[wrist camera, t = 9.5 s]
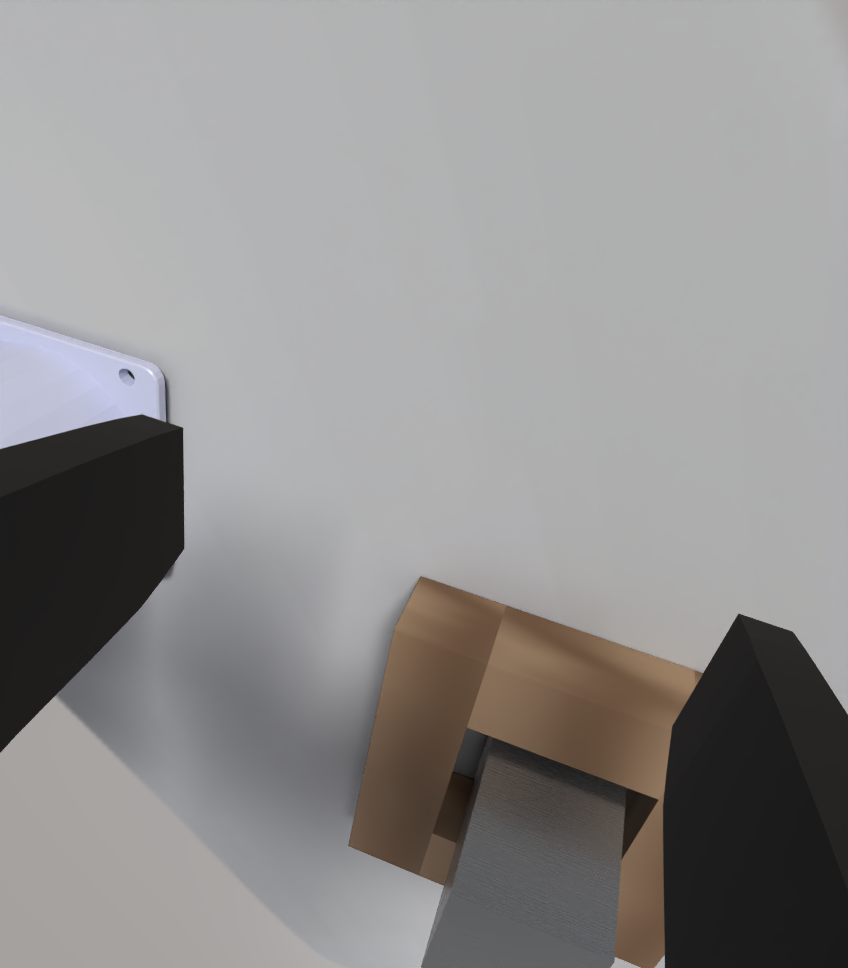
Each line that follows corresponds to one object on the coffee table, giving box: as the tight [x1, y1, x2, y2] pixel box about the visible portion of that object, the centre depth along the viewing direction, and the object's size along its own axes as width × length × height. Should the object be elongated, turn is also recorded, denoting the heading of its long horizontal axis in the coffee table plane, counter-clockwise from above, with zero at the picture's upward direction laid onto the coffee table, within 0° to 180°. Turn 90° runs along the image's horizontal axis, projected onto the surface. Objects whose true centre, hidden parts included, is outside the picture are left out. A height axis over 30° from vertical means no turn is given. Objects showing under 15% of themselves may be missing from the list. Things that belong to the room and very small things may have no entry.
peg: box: [421, 736, 627, 968], centre depth 21 cm, size 4×4×7 cm
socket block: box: [348, 576, 703, 968], centre depth 23 cm, size 11×11×2 cm
